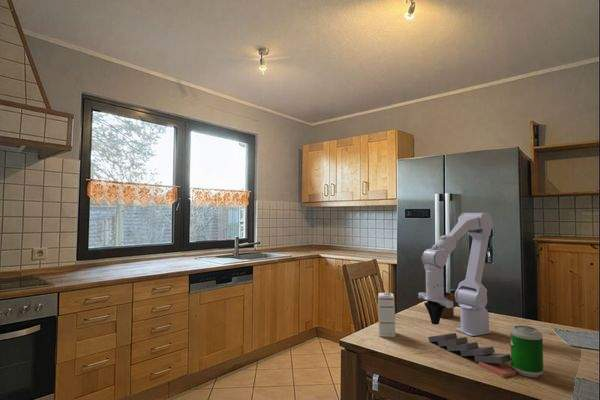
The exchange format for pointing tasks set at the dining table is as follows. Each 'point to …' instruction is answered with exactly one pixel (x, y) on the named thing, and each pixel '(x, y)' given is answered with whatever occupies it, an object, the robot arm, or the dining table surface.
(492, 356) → the domino
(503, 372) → the domino
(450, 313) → the mug
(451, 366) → the dining table surface
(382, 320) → the syrup box
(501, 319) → the dining table surface
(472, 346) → the domino
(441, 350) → the dining table surface
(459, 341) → the domino
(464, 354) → the domino
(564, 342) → the dining table surface
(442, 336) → the domino
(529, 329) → the soda can
